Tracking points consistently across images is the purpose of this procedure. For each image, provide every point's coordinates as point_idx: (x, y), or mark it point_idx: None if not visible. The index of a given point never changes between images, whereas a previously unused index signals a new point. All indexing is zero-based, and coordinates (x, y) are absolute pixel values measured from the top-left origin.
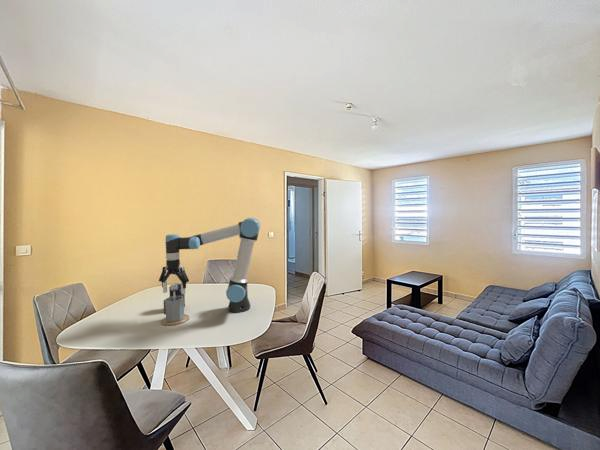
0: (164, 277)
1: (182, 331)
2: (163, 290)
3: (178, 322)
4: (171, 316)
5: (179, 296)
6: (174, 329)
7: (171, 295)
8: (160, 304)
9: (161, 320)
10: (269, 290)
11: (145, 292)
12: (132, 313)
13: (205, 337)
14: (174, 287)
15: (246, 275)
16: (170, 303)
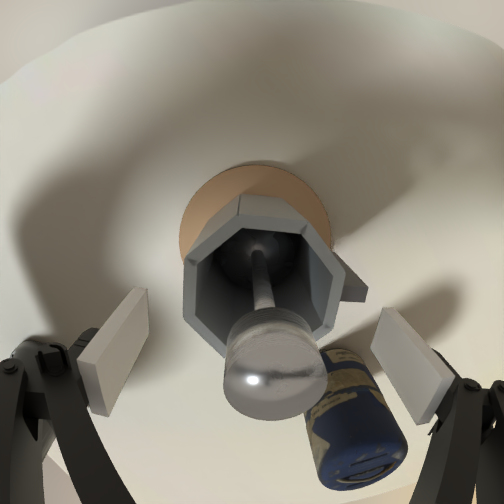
0: (472, 442)
1: (128, 117)
2: (401, 321)
3: (204, 199)
4: (245, 197)
5: None
6: (183, 129)
7: (372, 402)
8: None
9: (326, 217)
10: None
11: None
12: (489, 293)
13: (21, 100)
14: (241, 343)
15: None
16: (250, 210)
